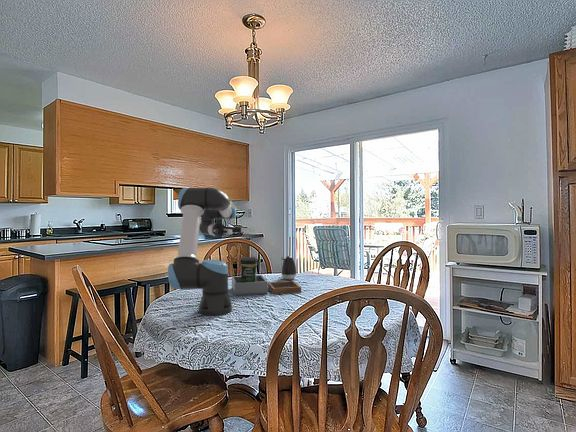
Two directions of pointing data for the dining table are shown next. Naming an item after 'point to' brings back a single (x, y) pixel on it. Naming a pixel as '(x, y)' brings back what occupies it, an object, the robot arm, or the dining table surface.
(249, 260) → the coffee jar
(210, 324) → the dining table surface
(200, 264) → the robot arm
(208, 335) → the dining table surface
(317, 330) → the dining table surface
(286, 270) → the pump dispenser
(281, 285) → the holder frame
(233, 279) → the box
